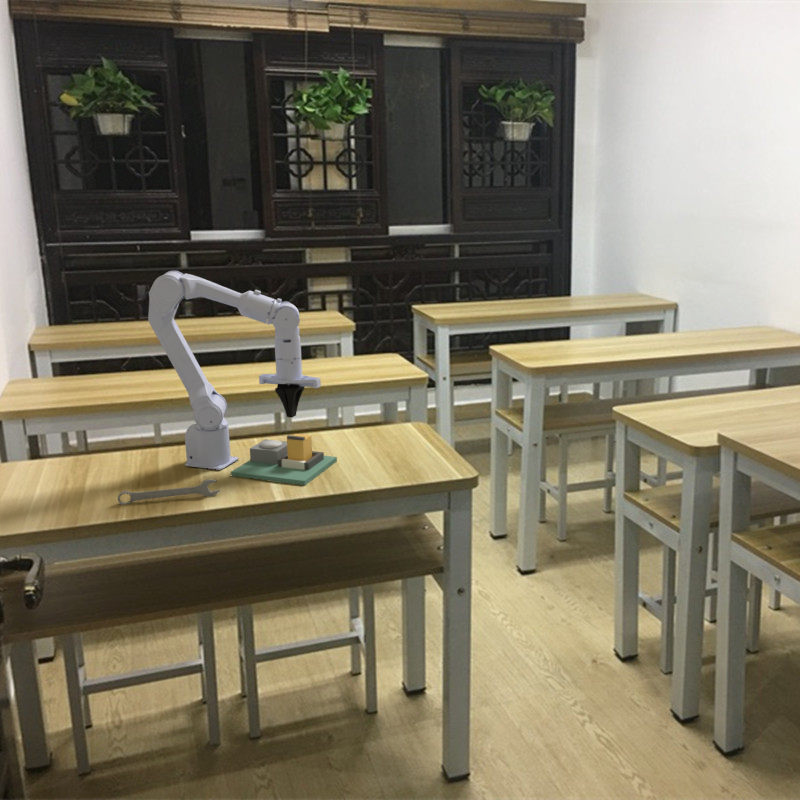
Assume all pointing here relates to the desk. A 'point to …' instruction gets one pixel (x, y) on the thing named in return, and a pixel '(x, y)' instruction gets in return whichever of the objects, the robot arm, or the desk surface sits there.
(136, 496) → the combination wrench
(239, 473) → the board
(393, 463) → the desk surface
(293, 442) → the plug
